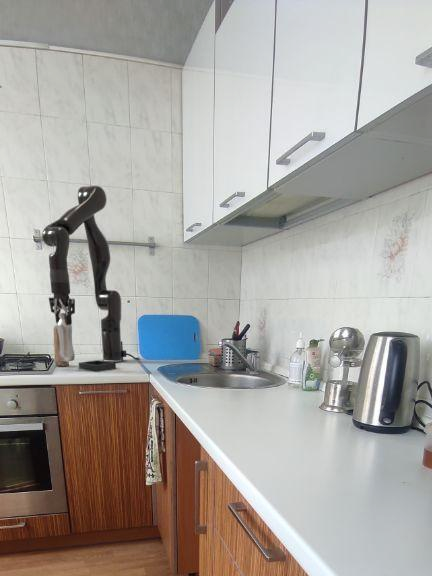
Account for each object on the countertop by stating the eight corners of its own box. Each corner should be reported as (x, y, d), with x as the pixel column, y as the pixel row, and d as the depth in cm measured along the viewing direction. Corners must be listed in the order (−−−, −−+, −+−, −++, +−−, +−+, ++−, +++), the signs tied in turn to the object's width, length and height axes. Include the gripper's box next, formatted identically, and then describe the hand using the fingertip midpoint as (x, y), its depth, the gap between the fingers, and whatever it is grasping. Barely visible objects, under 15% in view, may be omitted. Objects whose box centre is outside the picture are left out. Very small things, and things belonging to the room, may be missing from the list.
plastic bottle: (61, 362, 201) (56, 313, 193) (58, 360, 206) (53, 312, 199) (76, 362, 204) (72, 313, 196) (73, 360, 209) (69, 312, 201)
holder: (98, 365, 220) (98, 360, 219) (116, 368, 214) (115, 362, 213) (79, 368, 211) (78, 362, 210) (96, 371, 205) (96, 365, 204)
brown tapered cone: (68, 366, 220) (54, 366, 217) (62, 326, 215) (48, 326, 212) (70, 365, 214) (57, 366, 212) (64, 324, 210) (50, 325, 207)
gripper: (78, 282, 192) (82, 324, 198) (56, 281, 199) (60, 322, 205) (64, 281, 186) (68, 325, 192) (41, 280, 193) (45, 323, 200)
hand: (63, 323), depth 199 cm, fingers closed on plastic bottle, 6 cm apart
